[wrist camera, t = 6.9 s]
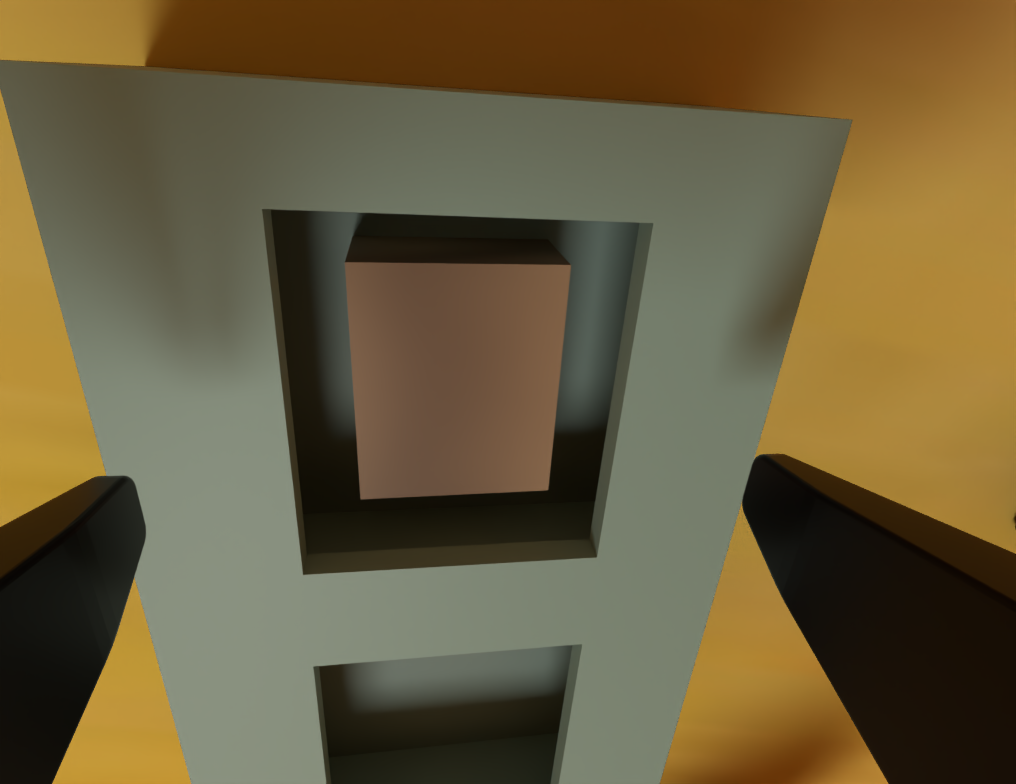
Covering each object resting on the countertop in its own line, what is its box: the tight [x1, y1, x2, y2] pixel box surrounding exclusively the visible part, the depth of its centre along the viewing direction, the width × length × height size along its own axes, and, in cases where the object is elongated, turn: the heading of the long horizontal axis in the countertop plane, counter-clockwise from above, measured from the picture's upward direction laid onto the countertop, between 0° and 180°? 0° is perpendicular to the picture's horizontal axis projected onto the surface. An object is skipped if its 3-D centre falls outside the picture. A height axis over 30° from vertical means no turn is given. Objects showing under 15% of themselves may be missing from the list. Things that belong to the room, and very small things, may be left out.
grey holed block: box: [0, 60, 852, 784], centre depth 15 cm, size 12×20×5 cm, turn 176°
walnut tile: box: [345, 236, 571, 499], centre depth 13 cm, size 4×5×2 cm
